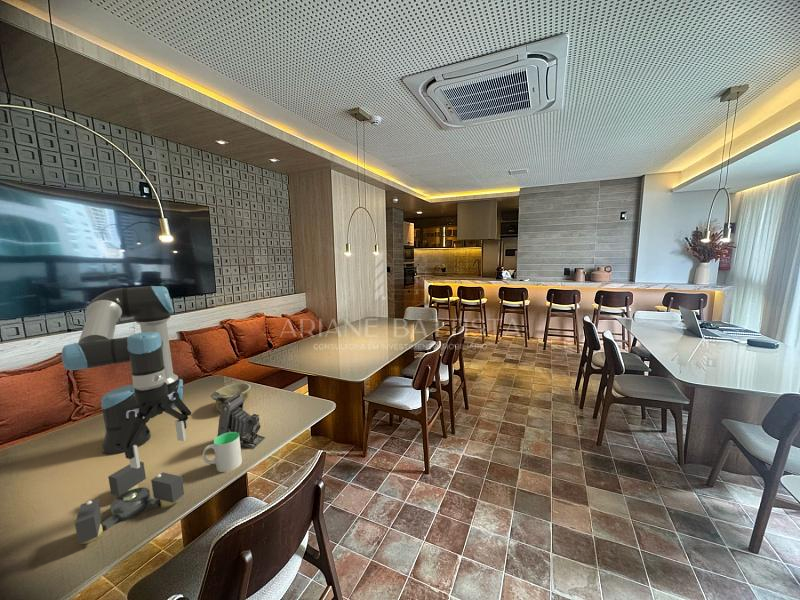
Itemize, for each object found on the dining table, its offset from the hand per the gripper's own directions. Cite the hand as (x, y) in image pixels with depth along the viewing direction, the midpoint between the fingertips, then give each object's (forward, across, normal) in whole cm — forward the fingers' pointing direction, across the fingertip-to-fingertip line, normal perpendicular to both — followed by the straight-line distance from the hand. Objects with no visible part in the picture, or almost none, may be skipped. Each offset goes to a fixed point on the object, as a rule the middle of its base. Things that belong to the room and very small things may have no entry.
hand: (160, 452), depth 94 cm
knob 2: (+17, +1, 0) cm, 17 cm away
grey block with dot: (+17, 0, +17) cm, 24 cm away
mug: (+17, +19, -2) cm, 25 cm away
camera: (+17, +34, +3) cm, 38 cm away
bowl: (+17, +57, +32) cm, 68 cm away
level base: (+17, -6, +8) cm, 20 cm away
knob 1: (+17, -14, +8) cm, 24 cm away
